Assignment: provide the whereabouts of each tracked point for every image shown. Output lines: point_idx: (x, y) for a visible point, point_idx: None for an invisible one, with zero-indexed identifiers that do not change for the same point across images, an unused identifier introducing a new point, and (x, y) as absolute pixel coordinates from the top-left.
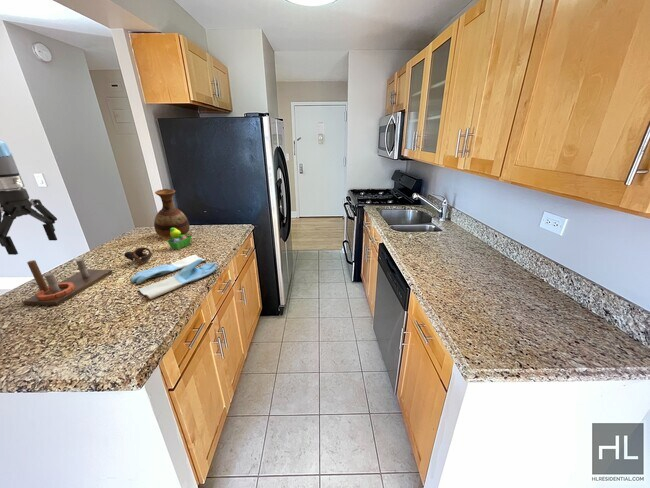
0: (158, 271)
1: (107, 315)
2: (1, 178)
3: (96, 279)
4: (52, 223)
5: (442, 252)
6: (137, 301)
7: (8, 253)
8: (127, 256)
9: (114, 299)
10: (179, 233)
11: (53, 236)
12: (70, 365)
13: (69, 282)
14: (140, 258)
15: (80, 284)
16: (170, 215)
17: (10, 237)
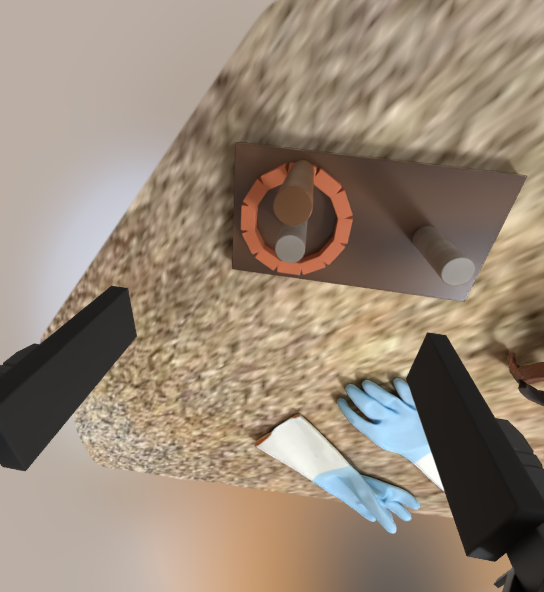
0: (378, 444)
1: (200, 394)
2: None
3: (386, 289)
4: (498, 581)
5: None
6: (253, 421)
7: (106, 294)
8: None
9: (263, 379)
10: None
11: (419, 406)
12: (83, 404)
13: (346, 238)
14: (522, 379)
15: (346, 265)
16: None
17: (35, 456)
